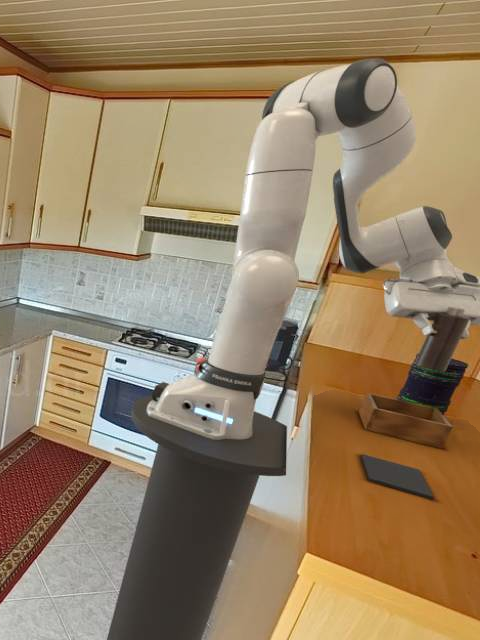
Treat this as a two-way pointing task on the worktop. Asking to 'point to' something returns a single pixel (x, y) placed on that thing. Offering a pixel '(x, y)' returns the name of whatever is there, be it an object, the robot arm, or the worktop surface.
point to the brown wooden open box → (404, 420)
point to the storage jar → (432, 385)
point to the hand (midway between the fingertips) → (447, 336)
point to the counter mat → (396, 476)
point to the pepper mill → (443, 340)
